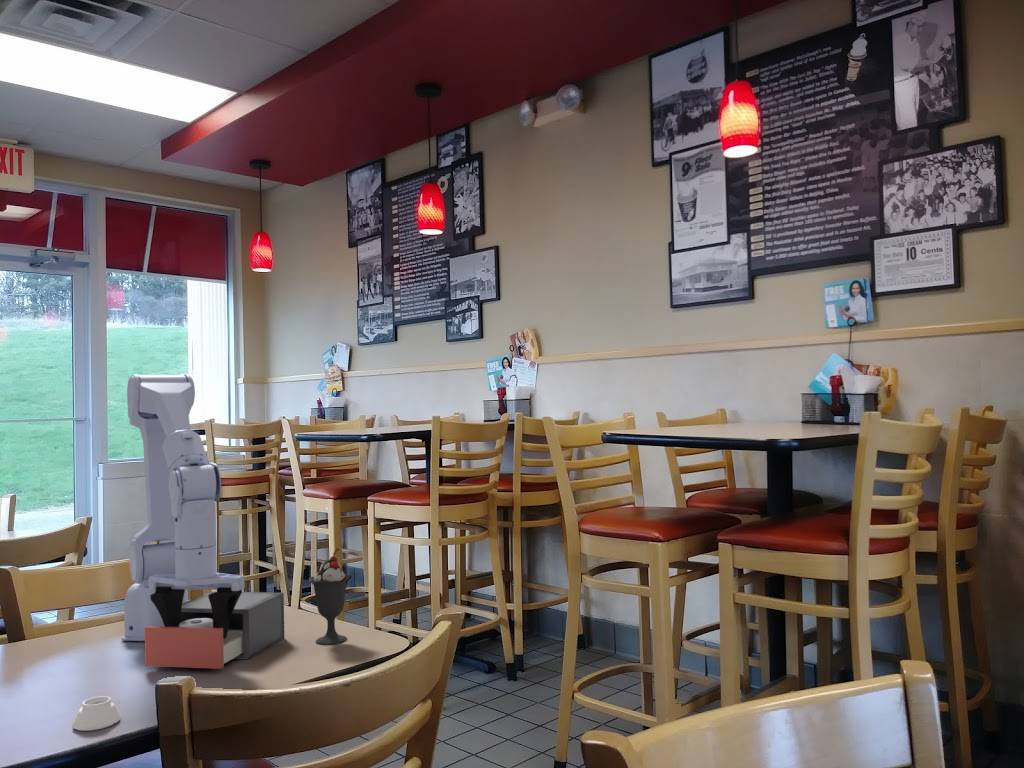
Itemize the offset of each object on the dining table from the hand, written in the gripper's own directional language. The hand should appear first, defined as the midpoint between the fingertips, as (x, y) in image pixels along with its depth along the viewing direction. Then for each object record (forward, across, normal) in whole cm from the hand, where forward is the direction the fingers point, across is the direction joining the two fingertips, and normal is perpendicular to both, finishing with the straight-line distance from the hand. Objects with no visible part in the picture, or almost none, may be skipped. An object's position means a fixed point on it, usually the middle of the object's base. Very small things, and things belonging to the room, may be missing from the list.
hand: (197, 638), depth 118 cm
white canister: (+2, 0, 0) cm, 3 cm away
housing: (+4, 0, +9) cm, 10 cm away
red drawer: (+3, 0, +2) cm, 3 cm away
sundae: (+4, +15, +14) cm, 21 cm away
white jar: (+4, +1, -22) cm, 23 cm away
